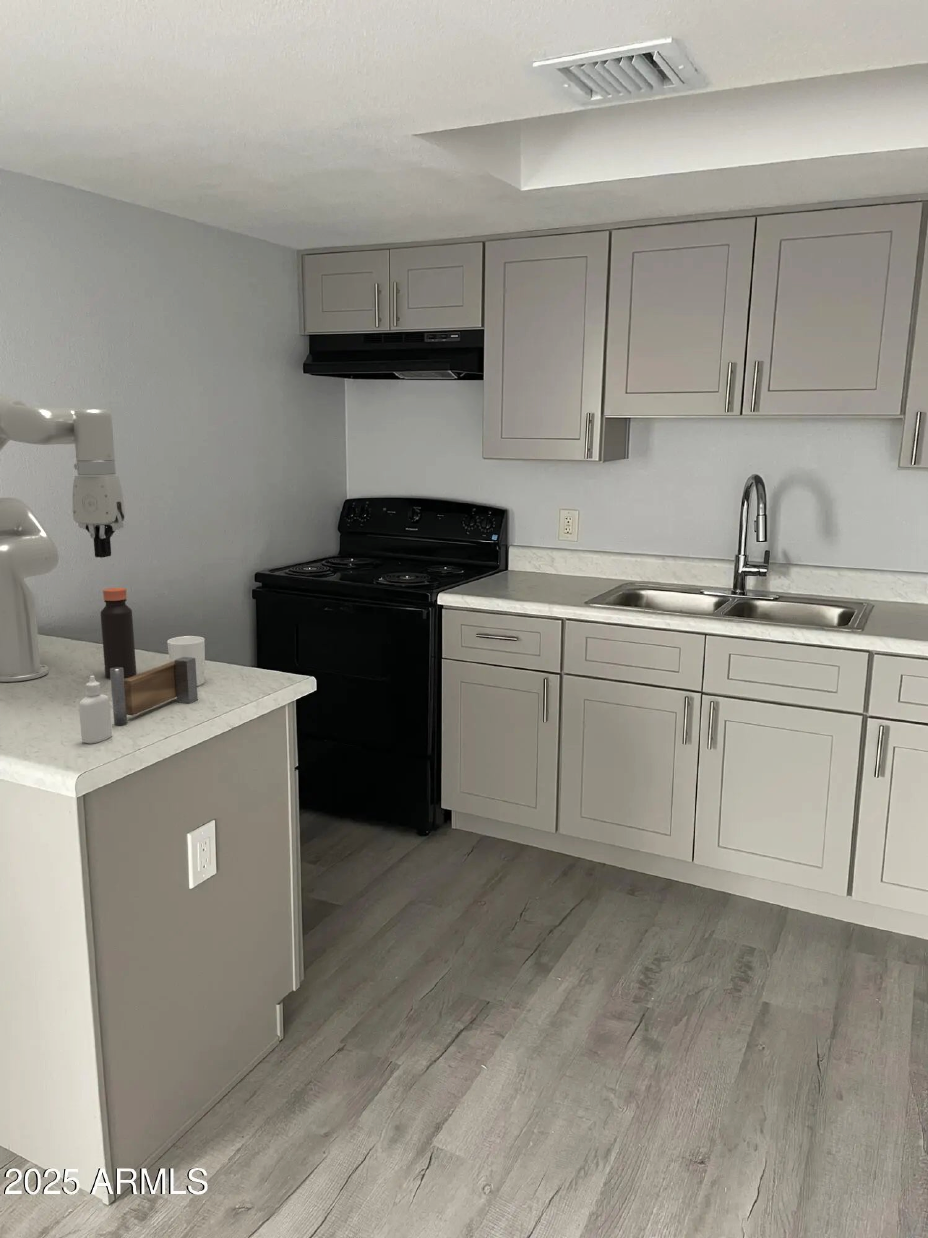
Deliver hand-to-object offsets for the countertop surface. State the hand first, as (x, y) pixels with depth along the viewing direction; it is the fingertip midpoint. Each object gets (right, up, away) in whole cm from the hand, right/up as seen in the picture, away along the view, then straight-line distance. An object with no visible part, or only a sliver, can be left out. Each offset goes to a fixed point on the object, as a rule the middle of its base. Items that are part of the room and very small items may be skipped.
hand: (103, 556), depth 204 cm
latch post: (+19, -30, -3) cm, 36 cm away
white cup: (+15, -28, +10) cm, 33 cm away
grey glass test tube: (+10, -34, -18) cm, 40 cm away
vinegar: (-2, -26, +17) cm, 32 cm away
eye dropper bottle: (+9, -36, -27) cm, 46 cm away
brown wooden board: (+14, -31, -9) cm, 35 cm away
